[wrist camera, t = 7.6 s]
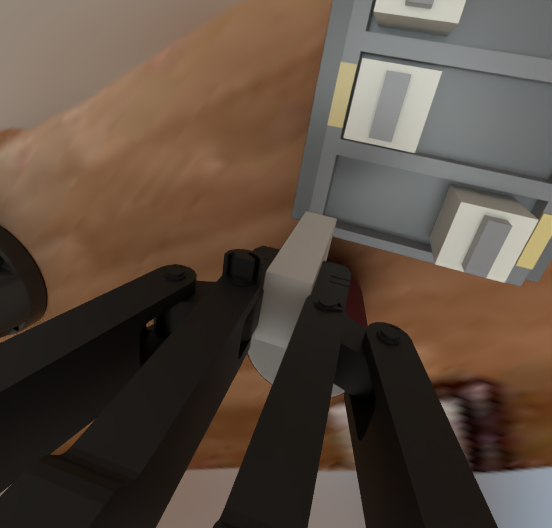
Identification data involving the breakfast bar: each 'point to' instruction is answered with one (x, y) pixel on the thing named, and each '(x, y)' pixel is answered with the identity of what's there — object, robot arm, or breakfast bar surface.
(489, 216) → the tab
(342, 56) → the switch bank
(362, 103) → the tab
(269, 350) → the mug
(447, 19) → the white and grey block
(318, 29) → the breakfast bar surface
